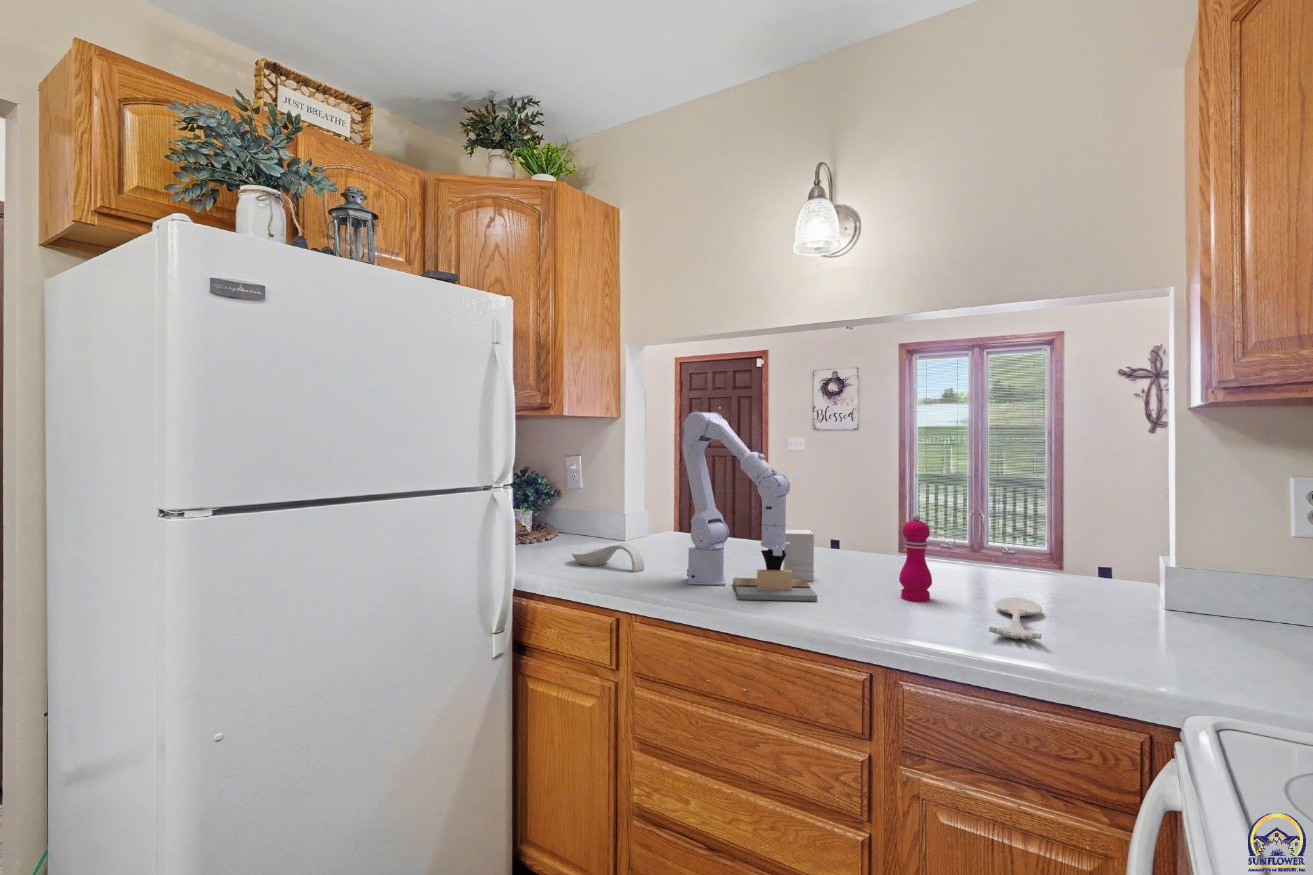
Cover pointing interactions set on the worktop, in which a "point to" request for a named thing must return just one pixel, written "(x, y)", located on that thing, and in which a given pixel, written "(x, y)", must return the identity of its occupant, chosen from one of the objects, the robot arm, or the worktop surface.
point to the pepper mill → (915, 562)
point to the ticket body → (753, 583)
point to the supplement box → (800, 554)
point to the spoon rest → (608, 556)
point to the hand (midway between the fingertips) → (773, 580)
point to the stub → (775, 588)
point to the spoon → (1017, 617)
